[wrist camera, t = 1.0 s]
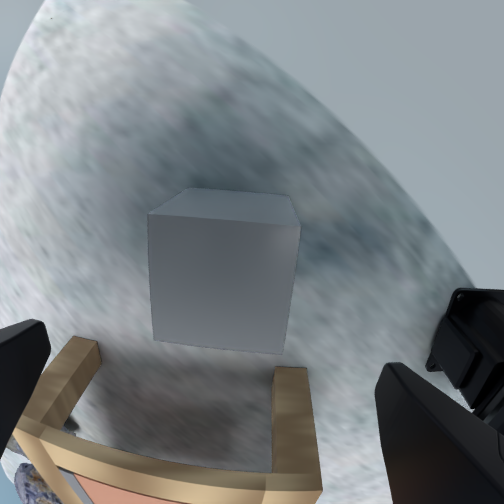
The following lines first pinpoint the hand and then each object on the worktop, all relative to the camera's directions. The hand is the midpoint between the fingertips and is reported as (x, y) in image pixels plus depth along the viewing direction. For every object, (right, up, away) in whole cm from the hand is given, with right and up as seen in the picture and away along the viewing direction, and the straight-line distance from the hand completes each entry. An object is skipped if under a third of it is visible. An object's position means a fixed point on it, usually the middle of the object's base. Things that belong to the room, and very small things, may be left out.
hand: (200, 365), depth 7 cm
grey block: (0, +3, +9) cm, 10 cm away
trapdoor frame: (-4, -11, +15) cm, 19 cm away
